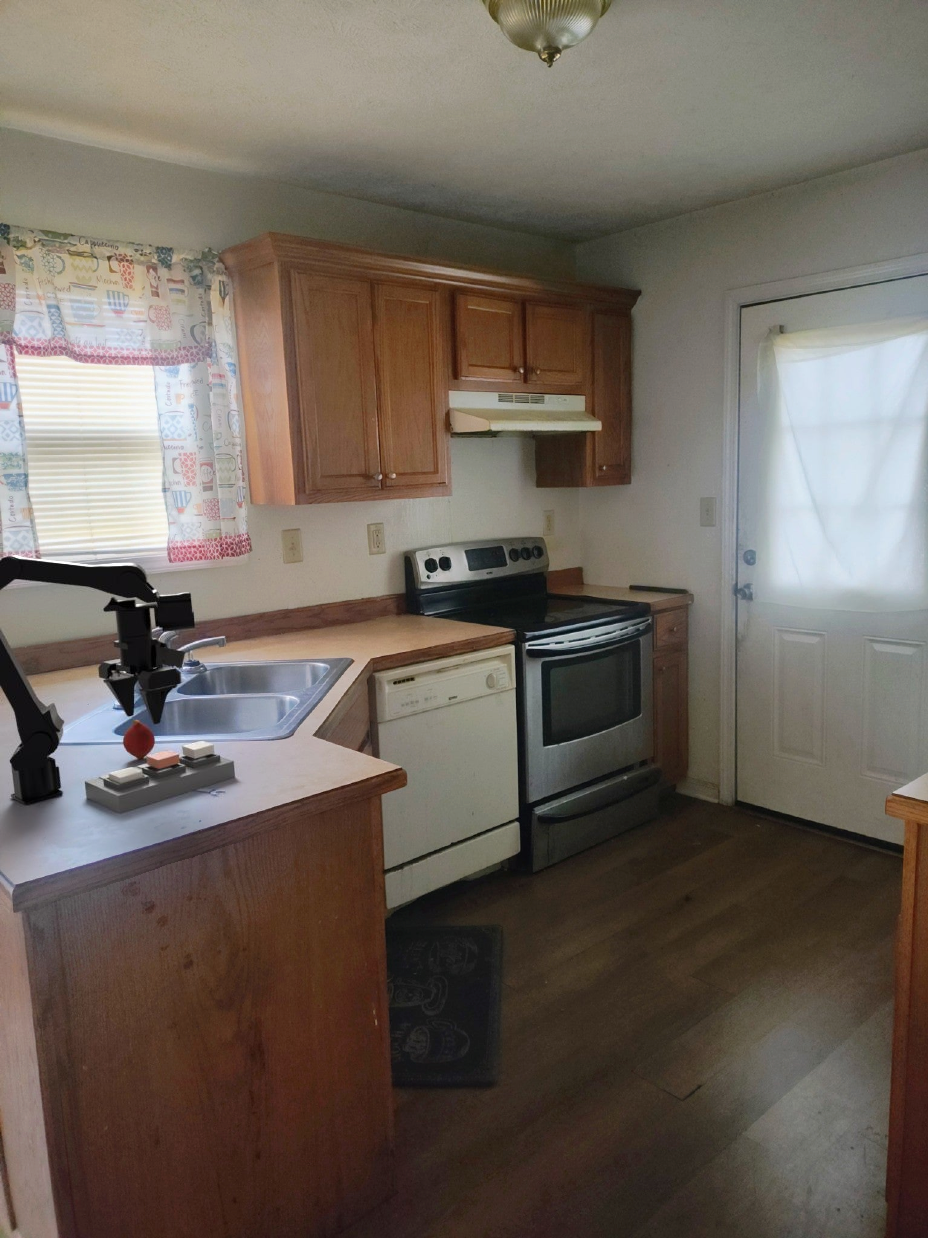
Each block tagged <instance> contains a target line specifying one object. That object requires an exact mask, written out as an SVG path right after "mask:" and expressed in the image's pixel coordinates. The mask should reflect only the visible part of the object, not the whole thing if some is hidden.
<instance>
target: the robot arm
mask: <svg viewBox="0 0 928 1238" xmlns="http://www.w3.org/2000/svg"><path fill="white" fill-rule="evenodd" d="M15 580H21V581H29V582H38V583H39V582H40V583H47V584H58V585H60V584H61V585H66V586H68V585H69V586H77V587H86V588H91V589H94V590H98V591H100V592H102V593H106V594H110V595H113V596H111V598H110V600H109V602H108V603H106V604H105V606H104V607H103V609H102V610H103V612H105V613H108V612H109V613H110V612H114V613H115V621H116V631H117V640H114V641H113V647H114V648H117V649H119V650H118V652H119V658H116V659H111V660H106V661H102V662H101V663H100V664H99V666H98V677H99V678H100V679H103V683H104V684H106V686H107V688H108V689H109V690H110V692H111V693H112V695H113V696H114V698H115V699H116V701H117V703H118V704H119V706H120V707H121V709H122V710H123V712H124V713H125V715H126V716H127V717H128V718H129V717H133V716H134V715H135V686H136V684H137V682H138V684H139V686H140V688H138V692H139V694H140V696H141V699H142V701H143V703H144V706H145V708H146V711H147V713H148V715H149V718H150V720H151V721H152V724H153V725H159V724H160V723H161V720H162V717H163V712H164V709H165V708H164V707H165V705H166V700H167V698H168V696H169V695H168V694H170V692H171V691H172V690H173V689H176V688H177V687H178V685H181V684H182V674H181V673H182V672H181V671H179V669H182V668H183V664H184V660H185V656H186V651H184V650H178V649H175V648H170V647H169V648H168V644H167V643H166V642H164V641H163V642H162V641H159V639H158V638H155V637H153V629H152V628H153V627H152V617H151V609H153V613H154V614H153V615H154V623H155V624H154V625H155V628H159V629H161V630H162V633H166V632H167V633H168V632H181V631H191V630H195V629H196V623H195V613H194V608H193V605H192V604H193V600H192V593H191V592H190V591H184V592H179V593H172V594H169V593H168V594H160V593H159V592H158V589H155V587H153V586H152V584H151V583H150V582H149V581H148V574H147V572H146V570H145V569H144V568H143V566H141V565H140V564H138V563H135V562H118V563H117V562H115V563H104V564H86V563H78V562H77V563H76V562H68V561H62V560H61V561H59V560H49V559H42V558H32V557H24V556H20V555H18V554H17V555H16V554H10V555H8V556H4V557H2V558H1V559H0V591H2V590H3V589H4V588H6V587H7V586H8V585H9V584H11V583H12V582H14V581H15ZM115 596H117V597H122V598H126V599H127V600H126V599H123V600H122V599H121V600H118V599H117V598H116V597H115ZM134 598H136V599H138V600H139V601H142V602H143V603H136V602H137V601H136V599H134ZM177 668H178V669H177ZM0 688H1V690H2V692H3V694H4V696H5V698H6V699H7V701H8V703H9V704H10V707H11V708H12V710H13V713H14V719H15V722H16V728H17V729H16V730H17V733H18V736H19V740H20V743H19V745H18V746H17V747H16V749H15V750H14V752H13V754H12V756H11V757H10V759H9V764H10V767H11V776H12V783H13V790H14V791H13V793H12V794H10V797H11V799H14V800H15V801H17V802H20V803H21V804H23V805H30V804H33V803H37V802H40V801H45V800H46V799H47V800H48V799H50V798H55V797H58V796H61V795H63V794H64V791H63V790H61V788H62V783H61V774H60V773H61V772H60V767H59V766H58V765H57V764H56V759H55V758H54V757H52V756H51V755H52V754H54V753H55V752H56V750H57V749H58V748H59V744H60V743H61V741H62V738H63V735H64V727H63V726H64V724H65V720H64V719H62V718H61V717H60V715H59V712H58V711H57V708H56V707H57V706H56V704H55V703H54V702H53V703H51V704H49V705H48V706H46V705H45V704H44V703H43V702H42V701H41V700H40V699H39V697H38V696H37V694H36V693H35V690H34V689H33V687H32V684H31V683H30V681H29V679H28V677H27V675H26V674H25V672H24V670H23V668H22V666H21V664H20V662H19V660H18V659H17V657H16V654H15V653H14V651H13V649H12V647H11V646H10V644H9V642H8V639H7V638H6V636H5V635H4V633H3V630H2V629H1V628H0Z"/></svg>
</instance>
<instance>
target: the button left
mask: <svg viewBox="0 0 928 1238" xmlns="http://www.w3.org/2000/svg"><path fill="white" fill-rule="evenodd" d="M108 774H109V780H112V781H114V782H116V783H119V784H121V783H124V782H128V781H131V780H135V779H138V778H141V777H143V773H142V771H140V770H137V769H135V768H134V767H132V766H129V767H125V768H122V769H118V770H115V771H111V772H108Z"/></svg>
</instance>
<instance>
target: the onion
mask: <svg viewBox="0 0 928 1238" xmlns="http://www.w3.org/2000/svg"><path fill="white" fill-rule="evenodd" d="M132 723H133V724H132V725H131V726H130V727H129V728H128V729H127V730H126V731H125V734H124V735H123V738H122V744H123V747H124V749H125V751H126V752H127V753H128V754H129V755H131V756H133V757H134V758H136V759H137V760H143V759H144V758H145V757H146V756H148V755H149V754H150V753H151V751H152V750H153V749H154V747H155V743H156V739H155V735H154V733H153V731H152V730H151V728H150V727H149V726H147V725H146V724H144V723H142V722H141V721H140V720H138V719H135V720H133V721H132Z"/></svg>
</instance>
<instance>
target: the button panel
mask: <svg viewBox="0 0 928 1238" xmlns="http://www.w3.org/2000/svg"><path fill="white" fill-rule="evenodd" d="M178 754H179V753H178ZM179 761H180V763H178V764H174V765H171V766H167V767H164V768H160V769H158V768H155V767H152V766H149V765H147V763H143V764H140V765H137V766H134V767H133V768H135V769H137V770H140V771H142V773H143V777H141V778H138V779H135V780H131V781H128V782H124V783H121V784H119V783H116V782H114V781H112V780H109V773H108V774H104V775H100V776H98V777H95V778H91V779H89V780H85V781H84V786H85V787H84V788H85V797H86V799H88V800H90V801H92V802H95V803H97V804H99V805H101V806H102V807H105V808H107V809H110V810H112V811H114V812H116V813H119V814H123V813H125V812H129V811H132V810H136V809H138V808H141V807H144V806H147V805H151V804H154V803H157V802H160V801H163V800H167V799H169V798H172V797H175V796H179V795H182V794H185V793H188V792H191V791H195V790H198V789H201V788H205V787H207V786H210V785H215V784H216V783H220V782H224V781H226V780H230V779H232V778H235V777H236V772H235V770H236V769H235V761H234V760H231V759H229V758H225V757H222V756H221V755H220V754H218V753H215V752H214V753H213V754H209V755H206V756H202V757H199V758H192V757H189V756H186V755H183V752H182V753H180V754H179Z"/></svg>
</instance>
